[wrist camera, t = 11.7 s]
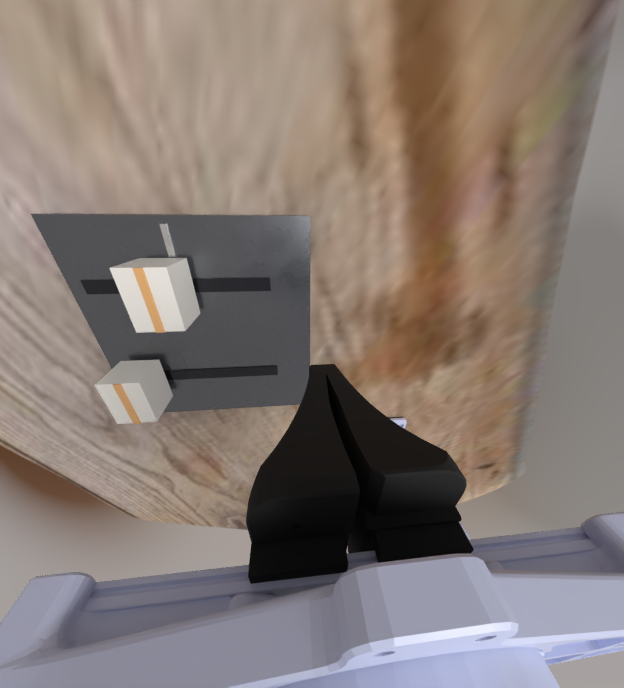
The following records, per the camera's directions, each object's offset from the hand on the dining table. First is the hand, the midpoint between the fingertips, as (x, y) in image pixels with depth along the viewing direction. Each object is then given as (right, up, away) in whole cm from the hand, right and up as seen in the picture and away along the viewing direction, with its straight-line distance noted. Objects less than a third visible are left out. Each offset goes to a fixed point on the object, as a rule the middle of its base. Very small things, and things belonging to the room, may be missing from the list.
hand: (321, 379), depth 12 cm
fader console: (-9, +4, +8) cm, 13 cm away
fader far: (-15, -1, +8) cm, 17 cm away
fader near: (-10, +6, +4) cm, 13 cm away
